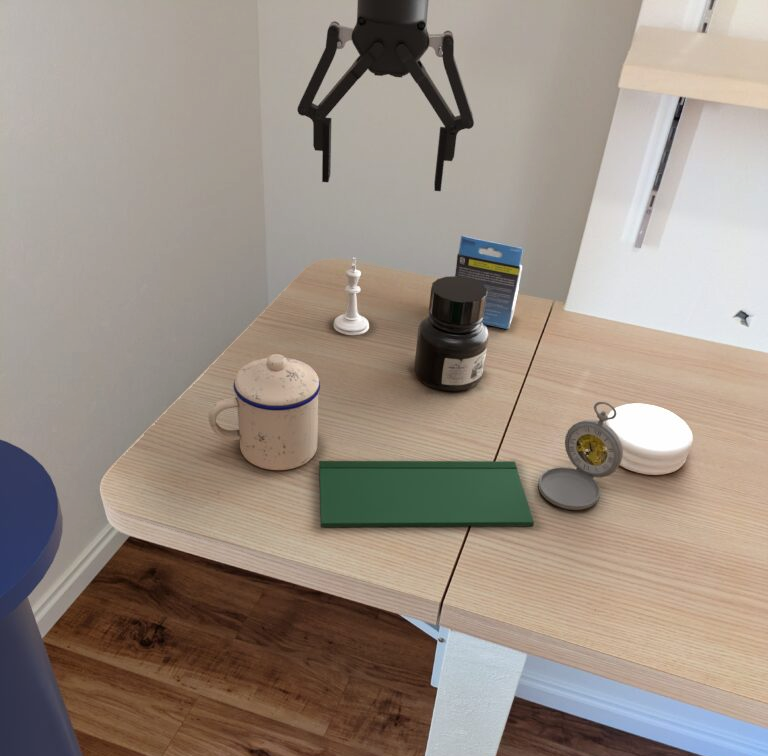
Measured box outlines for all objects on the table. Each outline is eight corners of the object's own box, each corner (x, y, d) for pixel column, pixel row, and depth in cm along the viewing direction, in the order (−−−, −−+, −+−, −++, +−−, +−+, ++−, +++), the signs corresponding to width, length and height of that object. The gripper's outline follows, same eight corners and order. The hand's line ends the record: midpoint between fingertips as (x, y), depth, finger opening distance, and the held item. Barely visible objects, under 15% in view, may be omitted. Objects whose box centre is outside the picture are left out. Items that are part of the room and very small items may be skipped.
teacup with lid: (307, 419, 94) (307, 331, 86) (329, 465, 88) (331, 375, 80) (205, 434, 91) (195, 344, 83) (221, 484, 85) (212, 391, 77)
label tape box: (513, 318, 116) (529, 236, 108) (508, 331, 113) (524, 248, 105) (455, 306, 118) (466, 225, 110) (448, 319, 115) (459, 236, 107)
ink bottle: (455, 403, 99) (468, 315, 91) (398, 376, 103) (406, 290, 95) (495, 372, 105) (511, 287, 97) (440, 348, 109) (451, 264, 101)
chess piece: (332, 334, 109) (333, 265, 103) (335, 316, 113) (336, 249, 106) (368, 336, 110) (371, 267, 103) (369, 319, 113) (373, 251, 107)
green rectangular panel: (320, 527, 81) (320, 522, 80) (319, 465, 88) (319, 460, 88) (533, 526, 83) (534, 521, 82) (514, 466, 90) (515, 461, 90)
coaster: (583, 431, 96) (590, 407, 94) (653, 420, 99) (661, 396, 97) (628, 483, 89) (636, 458, 87) (702, 469, 92) (712, 445, 90)
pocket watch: (537, 508, 85) (557, 432, 78) (537, 460, 91) (555, 386, 85) (614, 519, 84) (641, 443, 78) (609, 470, 91) (633, 396, 84)
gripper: (510, -21, 86) (482, 179, 100) (279, -40, 86) (283, 164, 100) (516, -9, 80) (485, 202, 95) (269, -29, 80) (275, 185, 94)
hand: (381, 183), depth 97 cm, fingers open, 13 cm apart
